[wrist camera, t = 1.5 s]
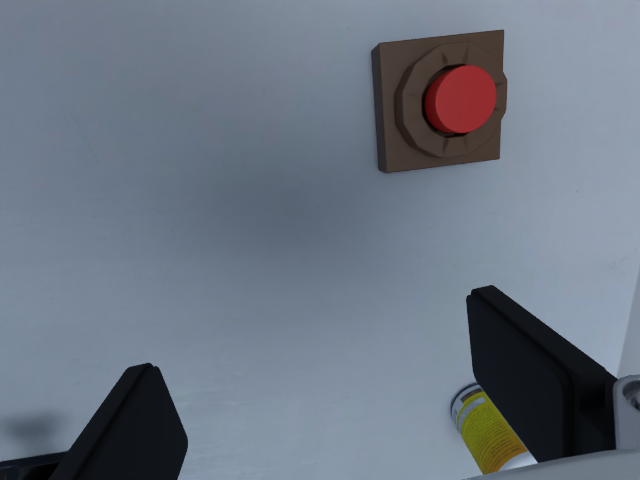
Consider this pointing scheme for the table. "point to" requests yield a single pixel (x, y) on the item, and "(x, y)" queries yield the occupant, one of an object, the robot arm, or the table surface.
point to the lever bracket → (36, 466)
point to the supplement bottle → (488, 433)
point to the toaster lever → (9, 473)
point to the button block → (409, 100)
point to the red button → (460, 99)
